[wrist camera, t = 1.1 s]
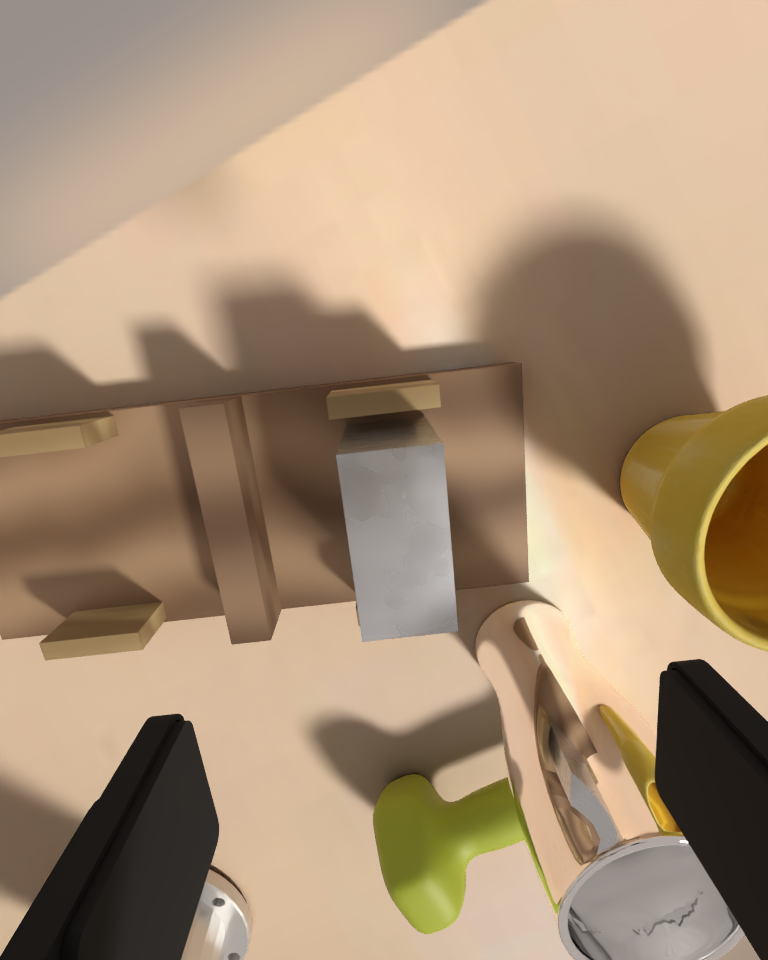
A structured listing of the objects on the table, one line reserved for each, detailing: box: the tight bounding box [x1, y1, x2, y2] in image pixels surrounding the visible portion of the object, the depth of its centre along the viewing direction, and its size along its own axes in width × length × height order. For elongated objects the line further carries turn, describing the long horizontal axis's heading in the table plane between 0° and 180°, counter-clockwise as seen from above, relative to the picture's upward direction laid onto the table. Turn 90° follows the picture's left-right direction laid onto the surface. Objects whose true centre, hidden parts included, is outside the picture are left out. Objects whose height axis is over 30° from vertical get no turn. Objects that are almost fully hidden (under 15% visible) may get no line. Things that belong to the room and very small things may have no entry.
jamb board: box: [0, 363, 529, 660], centre depth 25 cm, size 12×30×4 cm, turn 96°
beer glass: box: [475, 600, 745, 960], centre depth 23 cm, size 7×7×15 cm
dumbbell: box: [373, 774, 525, 934], centre depth 30 cm, size 16×8×7 cm, turn 117°
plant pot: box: [620, 395, 768, 651], centre depth 23 cm, size 10×10×10 cm
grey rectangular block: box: [336, 415, 458, 642], centre depth 23 cm, size 8×4×7 cm, turn 6°
